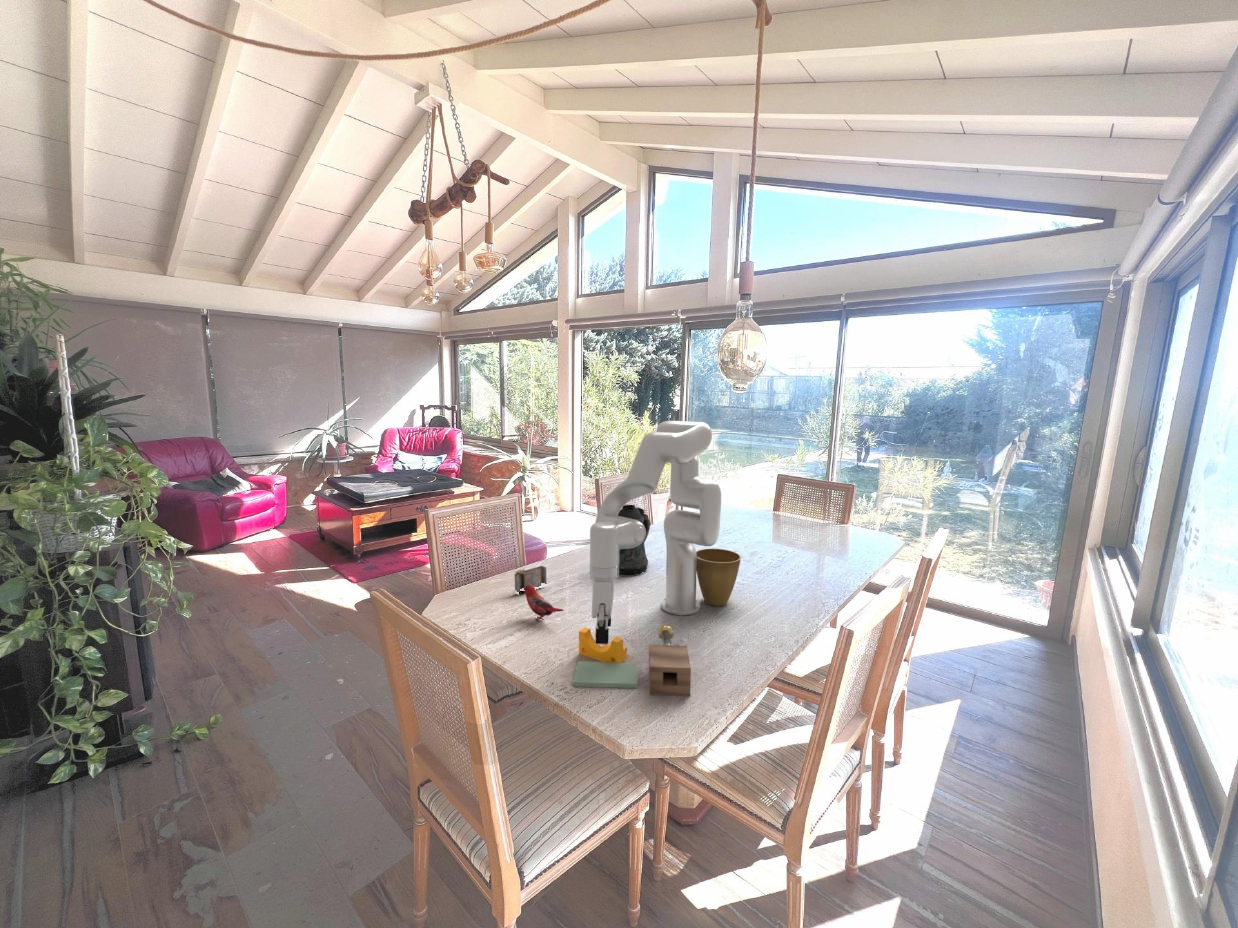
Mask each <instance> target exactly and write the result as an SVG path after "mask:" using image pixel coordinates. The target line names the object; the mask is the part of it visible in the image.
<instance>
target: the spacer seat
mask: <svg viewBox="0 0 1238 928" xmlns="http://www.w3.org/2000/svg"><path fill="white" fill-rule="evenodd" d="M572 680H573V681H572V687H589V688H590V687H592V688H593V687H594V688H597V687H599V688H621V689H622V688H624V689H625V688H628V689H637V688H638V662H622V663H618V662H603V661H579V660H578V661H577V664H576V667H575V672H574V676H573V679H572Z"/></svg>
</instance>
